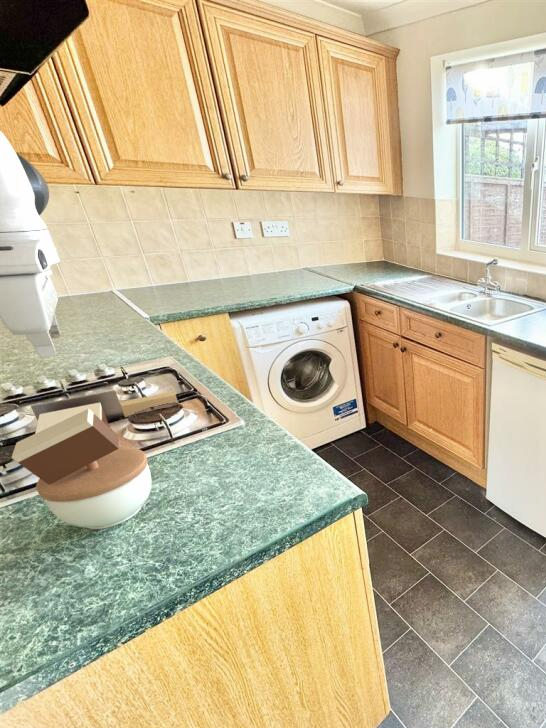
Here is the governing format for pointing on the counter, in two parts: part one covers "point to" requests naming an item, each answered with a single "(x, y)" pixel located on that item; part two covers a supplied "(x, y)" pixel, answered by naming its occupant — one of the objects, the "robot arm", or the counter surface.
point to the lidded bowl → (101, 490)
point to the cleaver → (106, 404)
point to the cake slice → (66, 446)
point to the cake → (68, 415)
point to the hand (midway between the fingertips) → (51, 346)
